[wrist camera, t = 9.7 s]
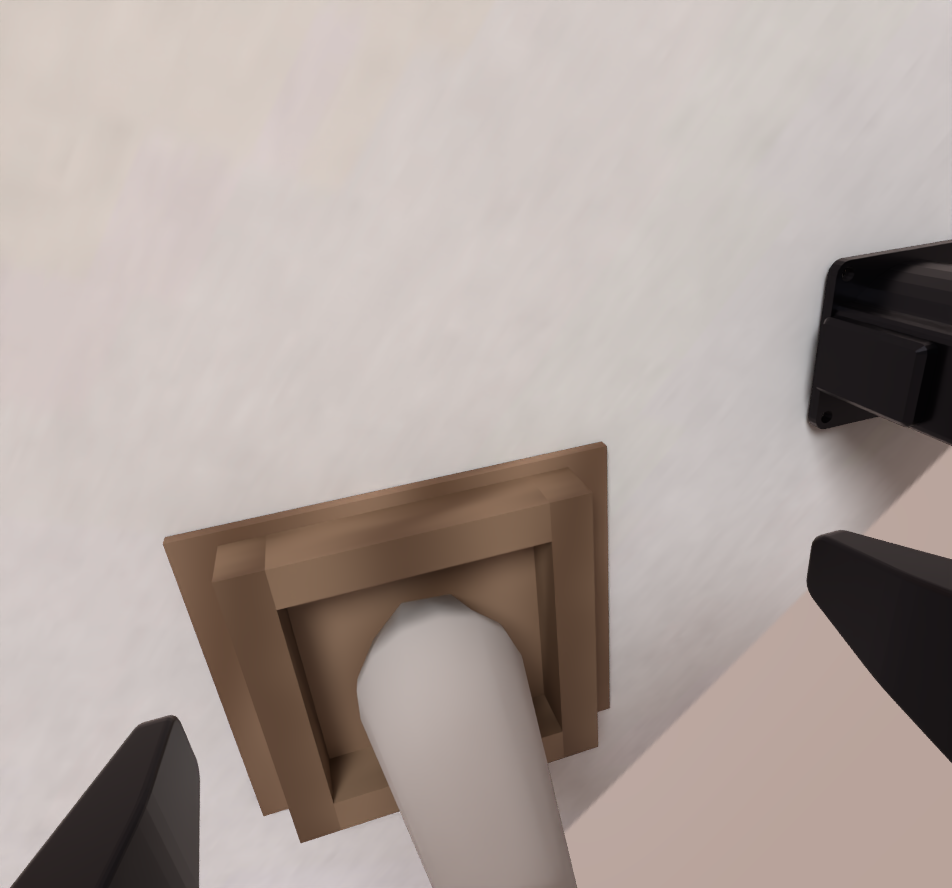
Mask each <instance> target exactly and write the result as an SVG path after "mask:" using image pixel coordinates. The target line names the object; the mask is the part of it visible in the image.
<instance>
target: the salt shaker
mask: <svg viewBox="0 0 952 888" xmlns="http://www.w3.org/2000/svg"><path fill="white" fill-rule="evenodd" d="M357 697H358V704H359V712H360V719H361V722H362V724H363V726H364V729H365V731H366V733H367V736H368V738H369V740H370V743H371V745H372V747H373V750H374V752H375V754H376V757H377V759H378V761H379V764H380V766H381V768H382V771H383V773H384V775H385V778H386V780H387V782H388V785H389V787H390V789H391V792H392V794H393V796H394V799H395V801H396V803H397V806H398V808H399V810H400V813H401V815H402V817H403V820H404V822H405V824H406V827H407V829H408V831H409V834H410V836H411V838H412V841H413V843H414V845H415V848H416V850H417V852H418V855H419V857H420V859H421V862H422V864H423V866H424V869H425V871H426V873H427V876H428V878H429V880H430V883H431V885H432V887H433V888H577V885H576V881H575V877H574V873H573V869H572V864H571V860H570V856H569V852H568V847H567V843H566V839H565V835H564V831H563V827H562V822H561V818H560V814H559V810H558V806H557V801H556V797H555V793H554V789H553V785H552V780H551V776H550V772H549V768H548V764H547V760H546V755H545V751H544V747H543V743H542V739H541V734H540V730H539V726H538V722H537V718H536V714H535V709H534V705H533V701H532V697H531V693H530V688H529V684H528V680H527V676H526V672H525V667H524V663H523V659H522V655H521V654H520V652H519V651H518V649H517V648H516V646H515V645H514V643H513V642H512V640H511V639H510V637H509V635H508V634H507V632H506V631H505V630H504V628H503V627H502V625H501V624H500V623H498V622H496V621H494V620H492V619H490V618H488V617H486V616H484V615H482V614H479V613H477V612H475V611H473V610H471V609H470V608H469V607H467V606H466V605H464V604H463V603H462V602H460V601H459V600H458V599H456V598H455V597H454V596H452V595H451V594H448V595H442V596H437V597H431V598H426V599H420V600H415V601H409V602H404V603H401V604H400V606H399V607H398V608H397V609H396V611H395V612H394V613H393V615H392V616H391V617H390V619H389V620H388V621H387V622H386V624H385V625H384V626H383V628H382V629H381V630H380V632H379V633H378V634H377V635H376V637H375V638H374V639H373V641H372V644H371V646H370V649H369V651H368V654H367V656H366V659H365V661H364V664H363V666H362V669H361V671H360V674H359V676H358V679H357Z"/></svg>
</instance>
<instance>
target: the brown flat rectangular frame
mask: <svg viewBox="0 0 952 888" xmlns="http://www.w3.org/2000/svg"><path fill="white" fill-rule="evenodd" d="M163 546H164V549H165V551H166V554H167V557H168V559H169V562H170V565H171V567H172V570H173V573H174V576H175V578H176V581H177V584H178V586H179V589H180V592H181V594H182V597H183V600H184V603H185V605H186V608H187V611H188V613H189V616H190V619H191V622H192V624H193V627H194V630H195V632H196V635H197V638H198V640H199V643H200V646H201V649H202V651H203V654H204V657H205V659H206V662H207V665H208V667H209V670H210V673H211V676H212V678H213V681H214V684H215V686H216V689H217V692H218V694H219V697H220V700H221V703H222V705H223V708H224V711H225V713H226V716H227V719H228V721H229V724H230V727H231V730H232V732H233V735H234V738H235V740H236V743H237V746H238V749H239V751H240V754H241V757H242V759H243V762H244V765H245V767H246V770H247V773H248V776H249V778H250V781H251V784H252V786H253V789H254V792H255V794H256V797H257V800H258V803H259V805H260V808H261V811H262V813H263V816H266V815H269V814H273V813H276V812H279V811H282V810H285V809H289V810H290V813H291V816H292V819H293V822H294V825H295V828H296V831H297V834H298V837H299V840H300V843H303V842H306V841H309V840H312V839H315V838H319V837H322V836H325V835H328V834H331V833H334V832H337V831H340V830H343V829H346V828H349V827H352V826H355V825H358V824H362V823H365V822H368V821H371V820H374V819H377V818H380V817H383V816H386V815H389V814H392V813H395V812H398V811H400V810H399V808H398V806H397V803H396V801H395V799H394V796H393V794H392V792H391V789H390V787H389V785H388V782H387V780H386V778H385V775H384V773H383V771H382V768H381V766H380V764H379V761H378V759H377V757H376V754H375V752H374V750H373V747H372V745H371V743H370V740H369V738H368V736H367V733H366V731H365V729H364V726H363V724H362V722H361V719H360V712H359V704H358V697H357V679H358V676H359V674H360V671H361V669H362V666H363V664H364V661H365V659H366V656H367V654H368V651H369V649H370V646H371V644H372V641H373V639H374V638H375V637H376V635H377V634H378V633H379V632H380V630H381V629H382V628H383V626H384V625H385V624H386V622H387V621H388V620H389V619H390V617H391V616H392V615H393V613H394V612H395V611H396V609H397V608H398V607H399V606H400V604H401V603H404V602H409V601H415V600H420V599H426V598H431V597H437V596H442V595H448V594H451V595H452V596H454V597H455V598H456V599H458V600H459V601H460V602H462V603H463V604H464V605H466V606H467V607H469V608H470V609H471V610H473V611H475V612H477V613H479V614H482V615H484V616H486V617H488V618H490V619H492V620H494V621H496V622H498V623H500V624H501V625H502V627H503V628H504V630H505V631H506V632H507V634H508V635H509V637H510V639H511V640H512V642H513V643H514V645H515V646H516V648H517V649H518V651H519V652H520V654H521V655H522V659H523V663H524V667H525V672H526V676H527V680H528V684H529V688H530V693H531V697H532V701H533V705H534V709H535V714H536V718H537V722H538V726H539V730H540V734H541V739H542V743H543V747H544V751H545V755H546V760H547V763H549V762H552V761H555V760H558V759H562V758H565V757H568V756H571V755H574V754H577V753H580V752H583V751H586V750H589V749H592V748H595V747H598V719H597V712H599V711H602V710H605V709H608V708H610V702H609V610H608V517H607V446H606V445H605V444H604V443H603V442H598V443H593V444H589V445H584V446H580V447H575V448H570V449H566V450H561V451H557V452H552V453H548V454H543V455H539V456H534V457H529V458H525V459H520V460H516V461H511V462H507V463H502V464H497V465H493V466H488V467H484V468H479V469H475V470H470V471H465V472H461V473H456V474H452V475H447V476H443V477H438V478H434V479H429V480H424V481H420V482H415V483H411V484H406V485H402V486H397V487H392V488H388V489H383V490H379V491H374V492H370V493H365V494H361V495H356V496H351V497H347V498H342V499H338V500H333V501H329V502H324V503H319V504H315V505H310V506H306V507H301V508H297V509H292V510H288V511H283V512H278V513H274V514H269V515H265V516H260V517H256V518H251V519H246V520H242V521H237V522H233V523H228V524H224V525H219V526H215V527H210V528H205V529H201V530H196V531H192V532H187V533H183V534H178V535H173V536H169V537H165V539H164V542H163Z"/></svg>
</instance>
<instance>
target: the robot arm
mask: <svg viewBox="0 0 952 888" xmlns="http://www.w3.org/2000/svg"><path fill="white" fill-rule="evenodd" d="M845 269H846V272H845V275H844V276H843V277H842V274H843V272H844V270H845ZM823 414H824V416H823V417H822V415H823ZM878 416H880V417H882V418H885V419H887V420H889V421H892V422H894V423H896V424H899V425H901V426H904V427H909V428H911V429H914V430H916V431H918V432H921V433H923V434H925V435H928V436H930V437H932V438H935V439H937V440H939V441H942V442H944V443H946V444H949V445H951V446H952V240H946V241H940V242H935V243H929V244H923V245H917V246H911V247H905V248H899V249H893V250H887V251H881V252H875V253H870V254H864V255H858V256H852V257H846V258H841V259H838V260H837V261H835V262H834V263H833V264H832V266H831V267H830V269H829V272H828V277H827V284H826V291H825V299H824V306H823V313H822V320H821V328H820V335H819V342H818V350H817V357H816V364H815V372H814V379H813V386H812V393H811V401H810V408H809V415H808V418H809V422H810V424H812V425H814V426H816V427H818V428H820V429H826V428H831V427H835V426H839V425H844V424H848V423H852V422H857V421H861V420H865V419H869V418H874V417H878ZM807 587H808V590H809V593H810V595H811V596H812V598H813V599H814V601H815V602H816V603H817V605H818V606H819V607H820V609H821V610H822V611H823V612H824V614H825V615H826V616H827V618H828V619H829V620H830V622H831V623H832V624H833V625H834V626H835V628H836V629H837V630H838V632H839V633H840V634H841V636H842V637H843V638H844V640H845V641H846V642H847V644H848V645H849V646H850V647H851V649H852V650H853V651H854V653H855V654H856V655H857V656H858V658H859V659H860V660H861V662H862V663H863V664H864V666H865V667H866V668H867V669H868V671H869V672H870V673H871V674H872V676H873V677H874V678H875V679H876V681H877V682H878V683H879V684H880V685H881V686H882V688H883V689H884V690H885V691H886V692H887V693H888V694H889V695H890V697H891V698H892V699H893V700H894V701H895V702H896V703H897V704H898V705H899V706H900V707H901V709H902V710H903V711H904V712H905V713H906V714H907V715H908V716H909V717H910V718H911V719H912V720H913V722H914V723H915V724H916V725H917V726H918V727H919V728H920V729H921V730H922V731H923V732H924V734H926V736H927V737H928V738H929V739H930V740H931V741H932V742H933V743H934V744H935V745H936V746H937V748H938V749H939V750H940V751H941V752H942V753H943V754H944V755H945V756H946V757H947V758H948V759H949V761H950V762H951V763H952V559H948V558H945V557H941V556H937V555H934V554H930V553H926V552H922V551H918V550H915V549H912V548H907V547H904V546H900V545H897V544H893V543H889V542H886V541H882V540H878V539H874V538H871V537H867V536H864V535H860V534H856V533H853V532H849V531H844V530H838V531H834V532H830V533H826V534H823V535H820V536H818V537H816V538H815V539H814V541H813V542H812V546H811V552H810V559H809V566H808V573H807ZM199 816H200V776H199V768H198V763H197V760H196V757H195V755H194V753H193V750H192V748H191V746H190V743H189V741H188V738H187V736H186V734H185V731H184V729H183V727H182V724H181V722H180V721H179V719H178V718H177V717H176V716H172V715H168V716H165V717H161V718H158V719H154V720H150V721H147V722H143V723H141V724H139V725H138V726H137V727H136V728H135V729H134V730H133V731H132V732H131V734H130V735H129V736H128V738H127V739H126V740H125V741H124V743H123V744H122V745H121V747H120V748H119V749H118V750H117V752H116V753H115V754H114V755H113V757H112V758H111V759H110V761H109V762H108V763H107V764H106V766H105V767H104V768H103V770H102V771H101V772H100V773H99V775H98V776H97V777H96V778H95V780H94V781H93V782H92V784H91V785H90V786H89V787H88V789H87V790H86V791H85V793H84V794H83V795H82V796H81V798H80V799H79V800H78V802H77V803H76V804H75V805H74V807H73V808H72V809H71V810H70V812H69V813H68V814H67V816H66V817H65V818H64V819H63V821H62V822H61V823H60V825H59V826H58V827H57V828H56V830H55V831H54V832H53V833H52V835H51V836H50V837H49V839H48V840H47V841H46V842H45V844H44V845H43V846H42V848H41V849H40V850H39V851H38V853H37V854H36V855H35V856H34V858H33V859H32V860H31V862H30V863H29V864H28V865H27V867H26V868H25V869H24V871H23V872H22V873H21V874H20V876H19V877H18V878H17V879H16V881H15V882H14V883H13V885H12V886H11V887H10V888H199Z"/></svg>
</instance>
